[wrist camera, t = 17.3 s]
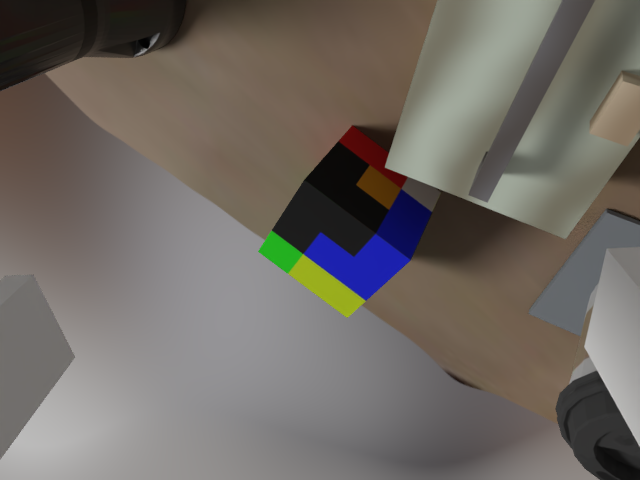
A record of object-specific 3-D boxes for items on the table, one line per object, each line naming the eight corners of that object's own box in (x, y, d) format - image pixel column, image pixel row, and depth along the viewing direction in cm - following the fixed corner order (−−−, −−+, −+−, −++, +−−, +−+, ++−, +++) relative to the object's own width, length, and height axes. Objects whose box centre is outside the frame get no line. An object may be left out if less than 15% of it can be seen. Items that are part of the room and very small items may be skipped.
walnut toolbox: (414, 122, 40) (367, 193, 31) (513, -167, 27) (477, -174, 19) (570, 179, 37) (562, 273, 29) (760, -109, 24) (844, -88, 16)
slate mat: (529, 309, 46) (528, 313, 46) (606, 208, 37) (606, 212, 37) (668, 369, 43) (668, 374, 43) (786, 276, 35) (789, 281, 34)
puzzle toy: (441, 192, 43) (410, 260, 36) (382, 251, 50) (347, 317, 43) (352, 125, 42) (304, 179, 35) (306, 194, 49) (258, 251, 42)
